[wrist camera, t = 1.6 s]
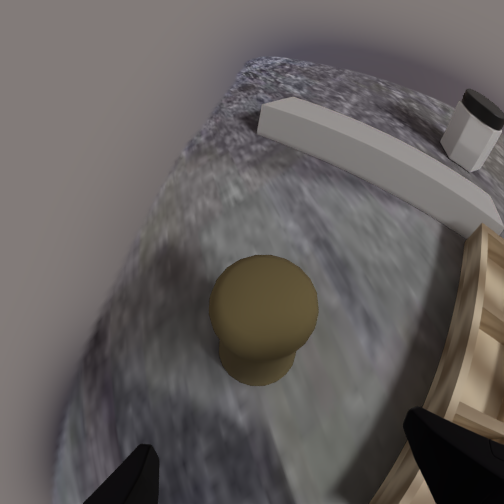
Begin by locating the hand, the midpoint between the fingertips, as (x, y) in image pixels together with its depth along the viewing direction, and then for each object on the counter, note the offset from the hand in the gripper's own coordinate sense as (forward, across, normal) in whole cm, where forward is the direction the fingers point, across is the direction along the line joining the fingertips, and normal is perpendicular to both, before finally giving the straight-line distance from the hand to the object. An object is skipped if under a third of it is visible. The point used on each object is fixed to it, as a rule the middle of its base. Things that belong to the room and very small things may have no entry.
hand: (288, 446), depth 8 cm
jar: (+31, -38, -13) cm, 51 cm away
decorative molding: (+28, -20, -10) cm, 36 cm away
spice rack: (+8, -21, +10) cm, 24 cm away
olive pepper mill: (+13, 0, +4) cm, 14 cm away
